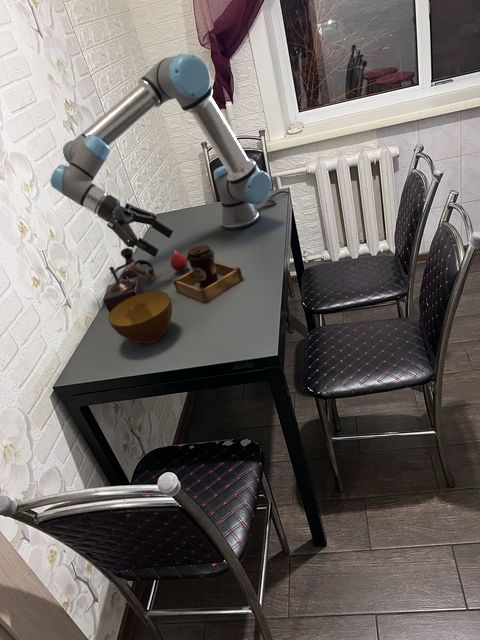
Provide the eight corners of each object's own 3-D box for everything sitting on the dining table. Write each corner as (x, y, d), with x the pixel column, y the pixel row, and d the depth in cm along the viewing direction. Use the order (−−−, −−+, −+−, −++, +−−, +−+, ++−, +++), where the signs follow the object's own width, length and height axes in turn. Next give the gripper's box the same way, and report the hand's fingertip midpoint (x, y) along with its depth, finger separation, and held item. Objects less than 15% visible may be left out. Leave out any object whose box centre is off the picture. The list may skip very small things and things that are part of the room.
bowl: (170, 353, 126) (157, 322, 120) (112, 358, 130) (97, 328, 125) (189, 317, 139) (178, 288, 134) (136, 322, 144) (123, 294, 138)
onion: (187, 274, 164) (179, 254, 160) (172, 276, 166) (164, 256, 161) (192, 267, 169) (185, 246, 164) (177, 268, 170) (170, 248, 166)
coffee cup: (206, 295, 149) (194, 257, 141) (192, 288, 154) (179, 252, 147) (227, 282, 152) (216, 245, 145) (212, 276, 158) (201, 241, 151)
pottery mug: (141, 273, 175) (145, 255, 170) (157, 288, 172) (161, 269, 166) (114, 281, 167) (116, 262, 161) (130, 297, 163) (133, 277, 158)
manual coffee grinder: (148, 316, 145) (126, 264, 135) (114, 325, 146) (89, 274, 135) (152, 293, 158) (132, 244, 148) (120, 301, 158) (98, 253, 148)
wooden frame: (213, 270, 162) (210, 258, 160) (243, 279, 152) (239, 267, 149) (176, 291, 155) (172, 280, 153) (205, 303, 144) (201, 291, 142)
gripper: (115, 199, 154) (171, 236, 159) (79, 230, 135) (145, 271, 139) (123, 180, 150) (181, 218, 154) (87, 210, 130) (155, 252, 135)
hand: (164, 243), depth 147 cm, fingers open, 13 cm apart
